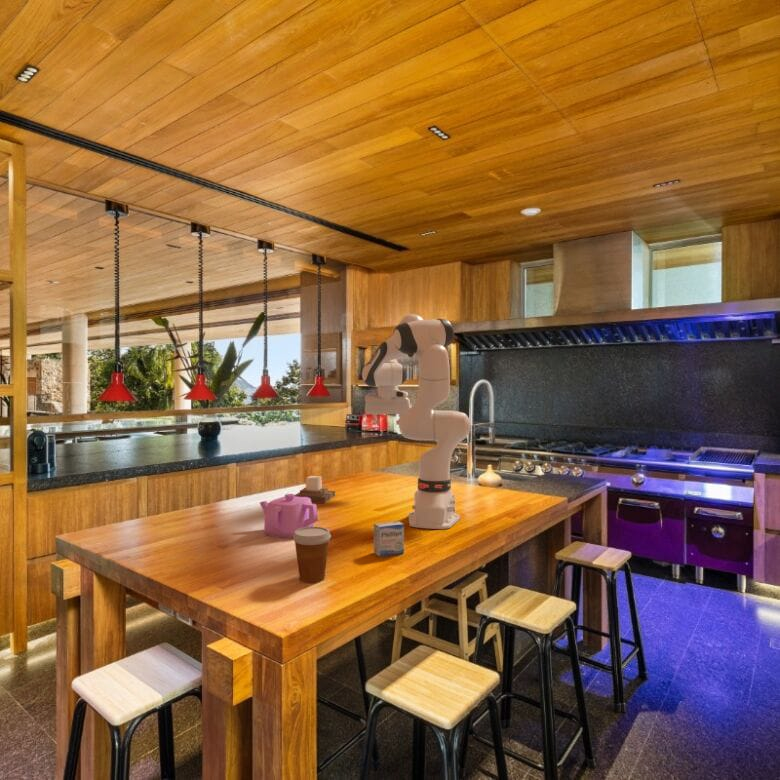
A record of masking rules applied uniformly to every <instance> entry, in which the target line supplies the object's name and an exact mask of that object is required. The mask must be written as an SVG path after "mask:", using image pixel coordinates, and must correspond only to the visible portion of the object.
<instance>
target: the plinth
mask: <svg viewBox="0 0 780 780" xmlns="http://www.w3.org/2000/svg"><path fill="white" fill-rule="evenodd" d="M294 495H295V497H308V498H310V499H311V503H312V504H325V503H327V502H328V501H330V500H331V499H333V498H334V497H335V496H336V491H335V490H329V489H328V487H327V486H326V487H325V486H322V488H321V489H319V490H318V491H316V490H306V487H304V488H302V489H300V490H299V492H298V493H296V494H294Z"/></svg>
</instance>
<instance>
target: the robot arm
mask: <svg viewBox="0 0 780 780" xmlns="http://www.w3.org/2000/svg"><path fill="white" fill-rule="evenodd" d="M454 337H455V331H454V327H453V325H452V323H451V322H450V321H449V320H448V319H445V318H437V319H436V318H435V319H423V318H422V317H421V316H420V315H418V314H416V313H408V314H406V315H404V316H403V317H402V318H401V319H400V321H399V323H398V324H397V325H396V326H395V328H394V330H393V333H392V335H391V336H390V337H389V338H388V339H386V340H385V341H382V342H381V343H380V344H379V346H378V347H377V349H375V351H374V353H373V354H372V356H371V358H370V360H369V361H368V362H367V363H366V364H365V365H364V367H363V368H362V372H361V373H362V374H361V377H362V382H364V383H365V384H366V386H368V387H377V392H368V393H366V394H365V396H364V402H365V404H364V405H365V406H364V413H365V414H366V415H368V414H369V415H370V414H371V415H372V418H373V419H374V422H375V425H379V424H380V420H379V419H378V417H377V416H378V415H381V414H382V415H398V420H396V421H395V422H396V425H397V426H398V427H399V428H398V429H399V432H400V433H401V435H402V436H403V437H404V438H405V439H409V440H414V441H434V442H436V445H435V446H434V447H433V448H431V449H429V450H427V451H424V452H423V453H422V454H421V455H420V457H419V459H418V469H419V471H418V478H417V490H416V491H415V492H414V505H412V506H411V507H412V510H414V511H410V512H408V515H407V516H408V526H409V527H413V528H419V529H432V530H447V529H450V528H451V527H453V525H455V524H456V523H457V522H458V521H459V520H460V519H461V515H459V514H457V513H456V495H455V494H454V493H453V492H452V489H451V488H452V486H451V485H452V481H451V478H450V475H451V474H450V471H451V468H450V467H451V462H452V461H451V460H452V455H453V453H454V451H455V449H456V447H457V446H459V444H460V443H461V442H462V441H464V440H465V439H466V438H467V437H468V435H469V434H470V431H471V425H472V424H471V420H470V417H469V416H468V415H467V414H466V413H465V412H462V411H457V410H439V409H438V410H436V409H434V408H435V407H436V406H438V405H440V404H442V403H444V402H445V401H447V399H448V398H449V397H450V395H451V368H450V359H449V354H448V350H447V347H449V346H450V345H451V344H452V343H453V341H454ZM414 355H415V356H416V357H417V360H418V372H417V373H418V384H417V385H418V386H417V387H418V388H417V391H418V392H417V396H416V399H415V401H414V403H413V405H411V401H410V398H409V397H408V396H409V393H408V392H407V391H404V390H402V389H399V386H402V385H403V384H404V383H406V380H407V368H406V367H405V366H404V364H402V363H399V362H398V360H401V359H408V358H413V357H414Z"/></svg>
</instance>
